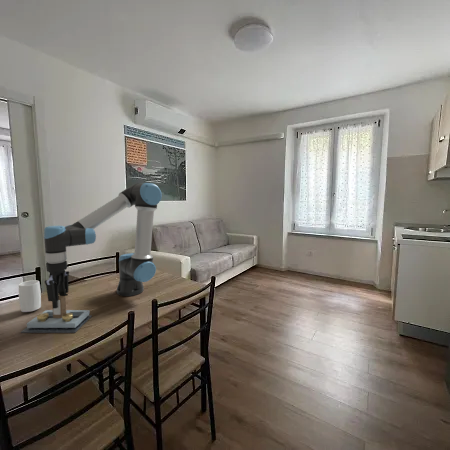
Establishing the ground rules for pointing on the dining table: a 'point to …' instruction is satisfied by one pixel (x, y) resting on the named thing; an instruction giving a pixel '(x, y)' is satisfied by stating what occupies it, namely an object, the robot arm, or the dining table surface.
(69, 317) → the plate
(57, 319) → the panel
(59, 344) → the dining table surface
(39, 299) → the cup
